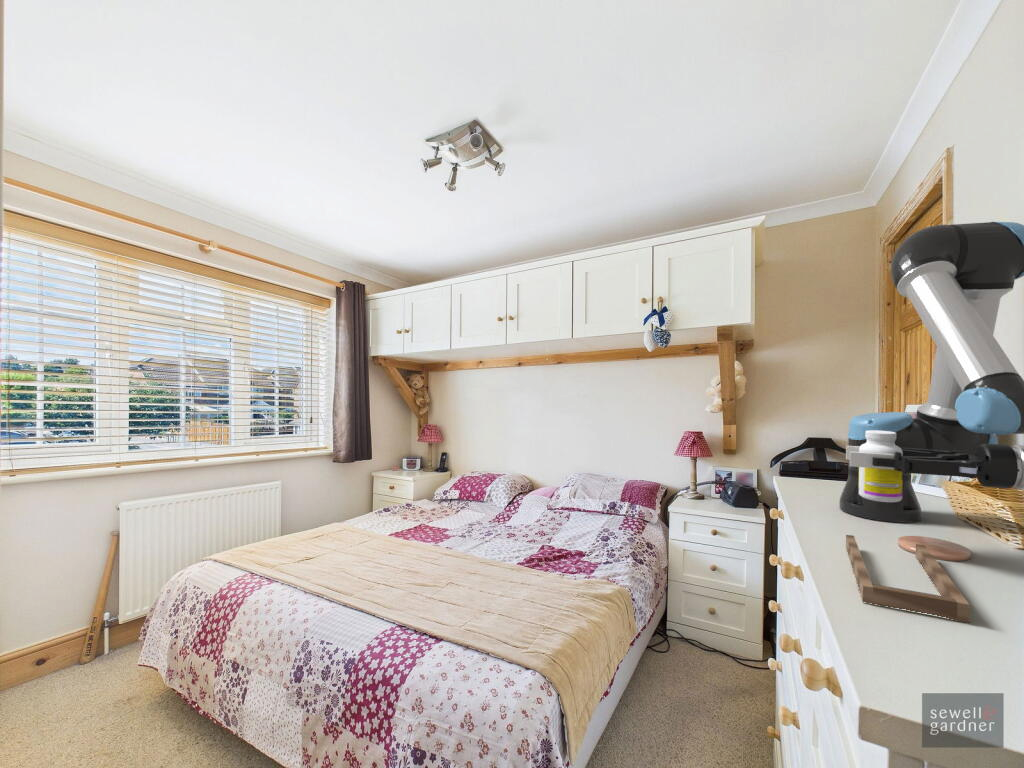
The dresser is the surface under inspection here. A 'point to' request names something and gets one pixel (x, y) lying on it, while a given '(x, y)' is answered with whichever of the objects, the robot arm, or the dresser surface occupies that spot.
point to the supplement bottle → (880, 481)
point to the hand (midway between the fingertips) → (848, 455)
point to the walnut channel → (944, 605)
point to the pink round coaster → (935, 548)
